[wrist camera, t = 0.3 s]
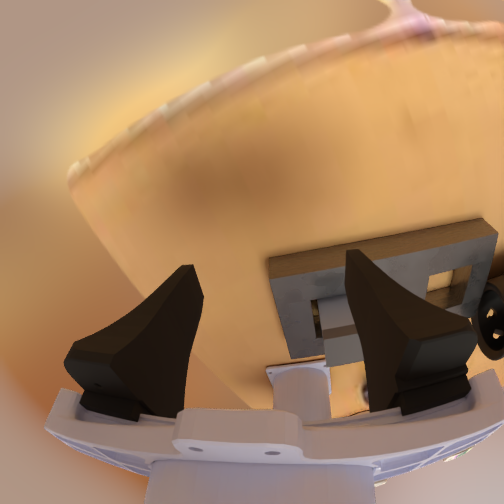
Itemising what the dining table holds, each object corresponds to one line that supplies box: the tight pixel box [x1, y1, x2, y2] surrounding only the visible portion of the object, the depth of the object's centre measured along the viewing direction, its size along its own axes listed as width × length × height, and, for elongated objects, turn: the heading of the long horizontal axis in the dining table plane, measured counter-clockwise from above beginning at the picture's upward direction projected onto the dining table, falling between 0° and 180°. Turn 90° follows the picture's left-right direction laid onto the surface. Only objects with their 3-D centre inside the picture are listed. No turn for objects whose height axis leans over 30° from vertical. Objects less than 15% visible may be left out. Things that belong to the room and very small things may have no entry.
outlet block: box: [269, 218, 498, 359], centre depth 24 cm, size 11×22×3 cm, turn 105°
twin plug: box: [317, 294, 364, 368], centre depth 23 cm, size 4×4×7 cm
